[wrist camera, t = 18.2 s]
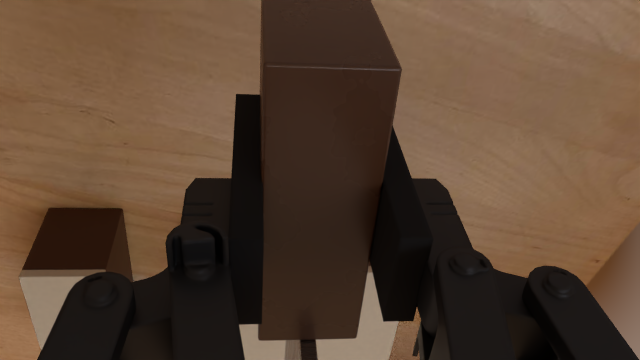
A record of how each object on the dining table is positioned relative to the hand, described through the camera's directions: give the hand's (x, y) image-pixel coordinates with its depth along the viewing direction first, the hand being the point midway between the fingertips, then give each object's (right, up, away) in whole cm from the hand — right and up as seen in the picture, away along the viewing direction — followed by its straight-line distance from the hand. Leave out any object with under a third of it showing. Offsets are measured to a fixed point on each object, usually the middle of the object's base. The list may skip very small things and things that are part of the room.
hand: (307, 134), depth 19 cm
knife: (-1, -5, +5) cm, 7 cm away
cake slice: (-15, -7, +21) cm, 27 cm away
